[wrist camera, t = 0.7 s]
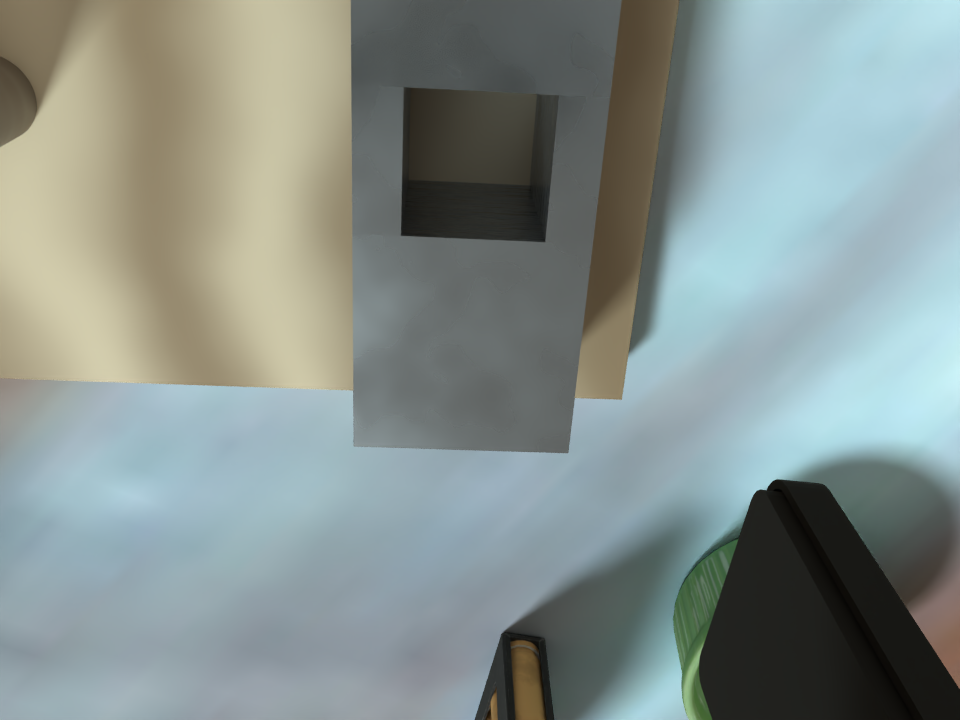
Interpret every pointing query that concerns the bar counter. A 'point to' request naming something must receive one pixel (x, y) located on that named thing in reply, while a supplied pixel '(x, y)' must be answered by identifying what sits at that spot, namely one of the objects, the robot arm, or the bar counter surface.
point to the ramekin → (698, 623)
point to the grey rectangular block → (474, 225)
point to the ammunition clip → (517, 681)
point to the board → (252, 188)
